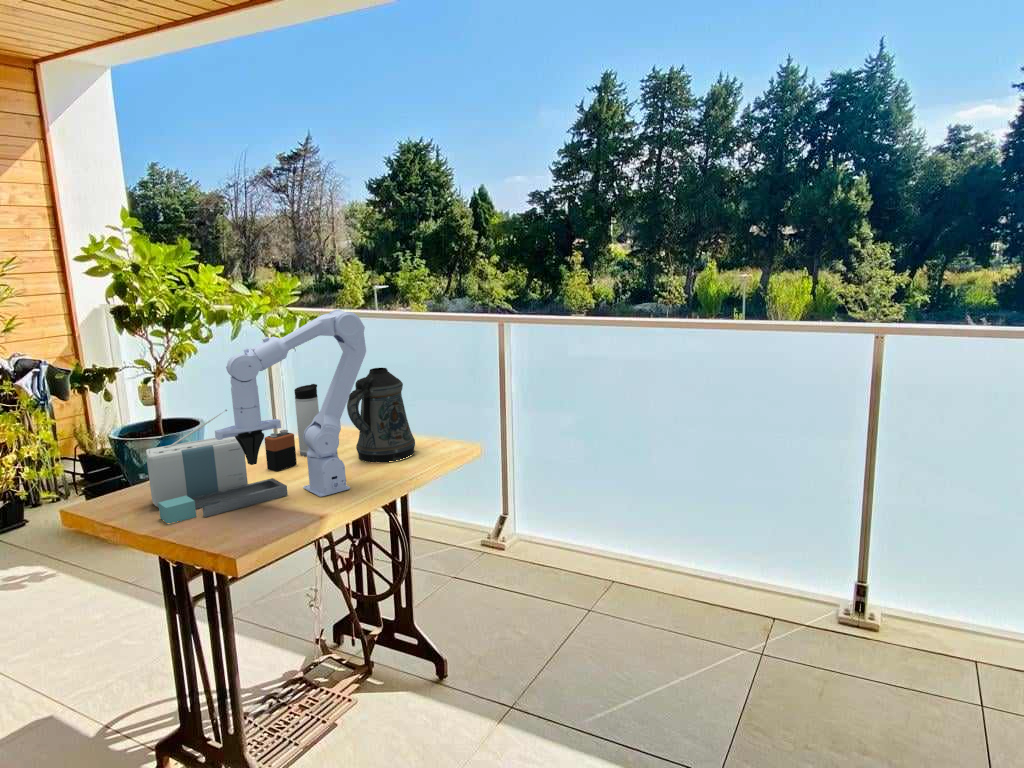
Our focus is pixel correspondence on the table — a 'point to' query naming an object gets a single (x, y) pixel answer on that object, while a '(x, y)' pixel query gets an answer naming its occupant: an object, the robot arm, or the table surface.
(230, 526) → the table surface
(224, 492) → the chute
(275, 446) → the battery
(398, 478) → the table surface
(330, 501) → the table surface
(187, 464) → the stereo radio cassette player
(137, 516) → the table surface
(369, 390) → the beer stein
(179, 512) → the block
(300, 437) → the travel mug
